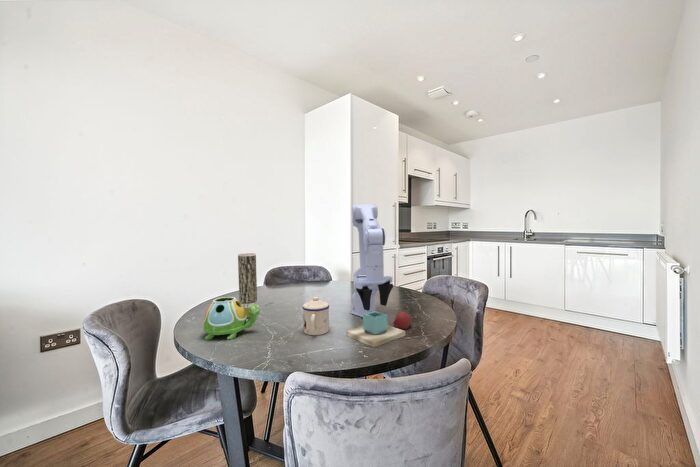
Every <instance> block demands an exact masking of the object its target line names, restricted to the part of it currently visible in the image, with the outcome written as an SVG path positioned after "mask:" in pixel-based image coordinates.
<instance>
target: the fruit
mask: <svg viewBox="0 0 700 467" xmlns="http://www.w3.org/2000/svg"><path fill="white" fill-rule="evenodd" d="M416 315H417V313H416V314H415V315H414V316H416ZM411 318H413V316H411V317H410V315H409V314H408V313H407V312H405V311H398V312H397V314H396V315H395V317H394V319H393V322H392V324H393V327H395V328H398V329H401V330H407V329H409V327H410V326H411V323H412V321H411Z"/></svg>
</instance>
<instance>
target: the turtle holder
mask: <svg viewBox="0 0 700 467" xmlns="http://www.w3.org/2000/svg"><path fill="white" fill-rule="evenodd" d="M260 311H261V308H260V306H259V304H258V303H257V304H255V305H251V306H250V307H249V309H248V313H249V315H250V317H249V318H247V317H246V313H245V310H244V307H243V306H242V304H241V303H240V302H239V299H237V298H236V297H234V296H225V297H224V296H223V297H217V298H215V299H213V300H212V303H211V304H210V305H209V306H208V307H207V309H206V310H205V314H204V318H203V321H202V323H203V331H204V333H205V334H207V335H206V336H205V337H204V340H212V339H214V337H215V336H220V335H221V336H222V335H228V336H227V337H226V340H229V339H230V340H233V338H234V339H235V338H236V337H237V335H238V334H237V333H239V332H241V331H243V330H245V329H248V328H250V329H251V328H252V327H253V326H254V325H255V324H256V322H257V320H258V315H259V314H260ZM230 340H229V341H230Z"/></svg>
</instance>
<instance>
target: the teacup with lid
mask: <svg viewBox="0 0 700 467" xmlns="http://www.w3.org/2000/svg"><path fill="white" fill-rule="evenodd" d="M302 311H303V314H302V315H303V317H302V318H303V332H304V334H306V335H309V336H320V335H324V334H327V333H329V331H330V317H329V316H330V312H329V311H330V303H328V302H327V301H324V300H322V299H319V297H318V296H313V297H312V299H311V300H309V301H308V302H305V303H304V304H303V305H302Z"/></svg>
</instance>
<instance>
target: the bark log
mask: <svg viewBox="0 0 700 467" xmlns="http://www.w3.org/2000/svg"><path fill="white" fill-rule="evenodd" d="M237 255H238V256H237V264H238V266H237V267H238V268H237V269H238V301H239V302H240V303H241V304H242V306H243V307H244V310H245V313H246V317H247V318H246V319H249V317H250V315H249V313H248V309H249V307H250V306H251V305H255V304H257V305H258V284H257V281H258V280H257V279H258V278H257V253H253V252H252V253H238V254H237Z"/></svg>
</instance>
